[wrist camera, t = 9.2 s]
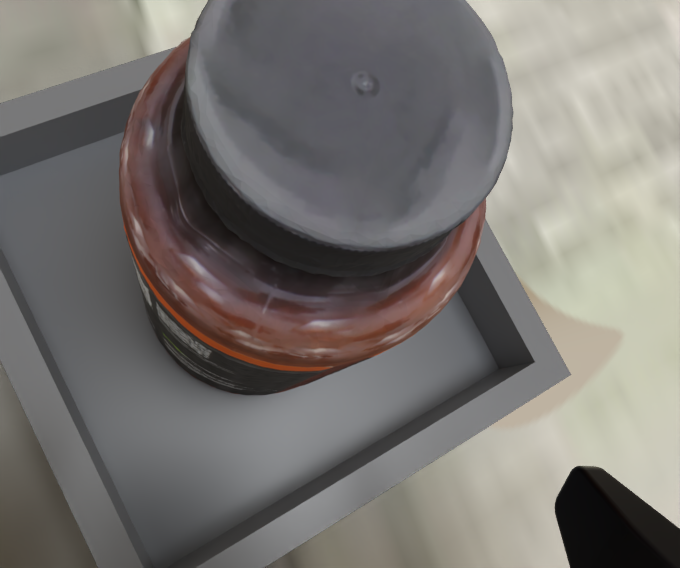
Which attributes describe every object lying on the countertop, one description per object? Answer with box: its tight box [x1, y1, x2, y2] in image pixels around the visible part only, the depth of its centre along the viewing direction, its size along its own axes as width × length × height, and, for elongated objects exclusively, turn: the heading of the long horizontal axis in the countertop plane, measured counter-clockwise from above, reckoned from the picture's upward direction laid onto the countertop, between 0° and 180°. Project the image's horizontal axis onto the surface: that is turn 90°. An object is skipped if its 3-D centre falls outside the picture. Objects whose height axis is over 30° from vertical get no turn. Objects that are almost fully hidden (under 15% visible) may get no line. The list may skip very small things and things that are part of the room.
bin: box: [0, 47, 571, 568], centre depth 18 cm, size 13×13×3 cm
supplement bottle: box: [119, 0, 513, 395], centre depth 13 cm, size 6×6×11 cm
